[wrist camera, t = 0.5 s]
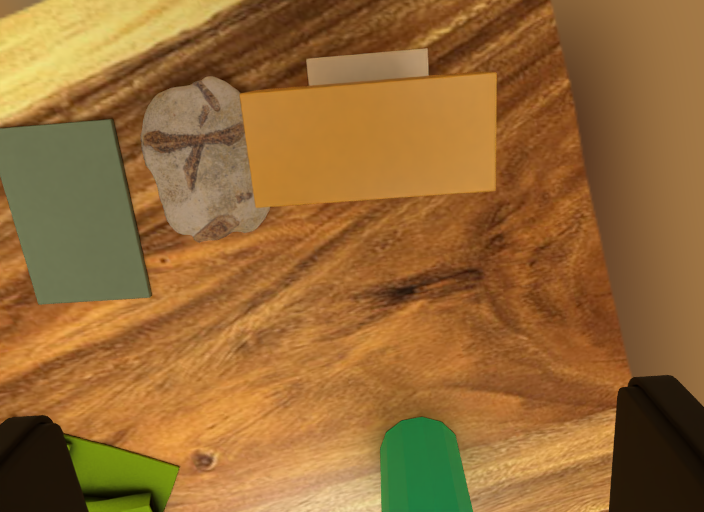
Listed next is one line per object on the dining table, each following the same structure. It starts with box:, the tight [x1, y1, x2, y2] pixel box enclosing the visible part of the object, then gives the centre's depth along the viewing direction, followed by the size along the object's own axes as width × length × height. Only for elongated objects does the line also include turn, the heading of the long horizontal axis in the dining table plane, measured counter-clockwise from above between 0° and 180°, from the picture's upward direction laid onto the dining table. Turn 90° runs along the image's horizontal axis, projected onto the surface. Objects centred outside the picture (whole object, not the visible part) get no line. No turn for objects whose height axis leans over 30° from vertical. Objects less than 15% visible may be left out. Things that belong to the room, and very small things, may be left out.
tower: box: [306, 48, 429, 86], centre depth 28 cm, size 7×7×10 cm
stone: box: [141, 76, 270, 243], centre depth 33 cm, size 10×7×3 cm
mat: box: [0, 119, 152, 304], centre depth 36 cm, size 12×8×1 cm, turn 5°
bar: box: [239, 72, 497, 208], centre depth 22 cm, size 4×10×3 cm, turn 94°
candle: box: [380, 417, 473, 512], centre depth 35 cm, size 6×6×12 cm
